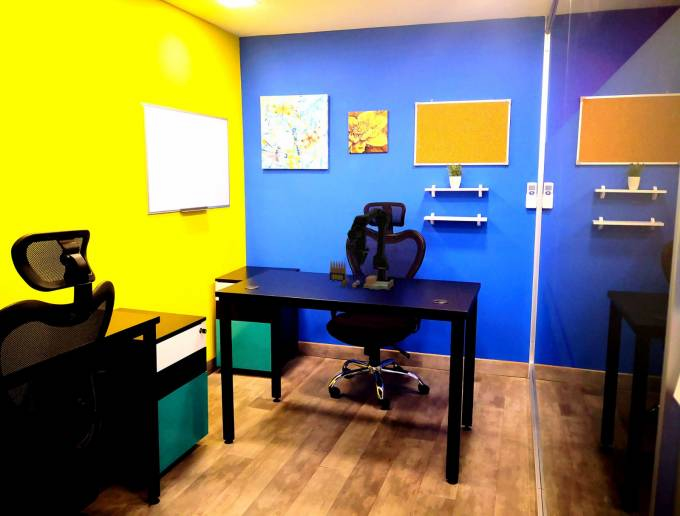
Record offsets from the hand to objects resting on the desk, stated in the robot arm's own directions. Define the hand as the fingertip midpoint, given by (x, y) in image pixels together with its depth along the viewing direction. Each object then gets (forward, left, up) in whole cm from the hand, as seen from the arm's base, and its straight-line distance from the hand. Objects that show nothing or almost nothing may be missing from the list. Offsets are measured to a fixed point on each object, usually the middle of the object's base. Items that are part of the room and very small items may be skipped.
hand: (360, 265), depth 308 cm
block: (0, +6, -10) cm, 11 cm away
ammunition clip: (-11, -17, -12) cm, 23 cm away
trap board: (0, +4, -12) cm, 12 cm away
